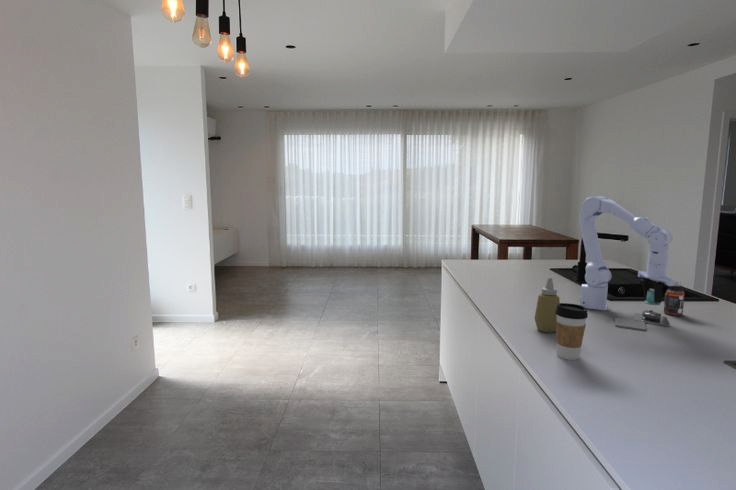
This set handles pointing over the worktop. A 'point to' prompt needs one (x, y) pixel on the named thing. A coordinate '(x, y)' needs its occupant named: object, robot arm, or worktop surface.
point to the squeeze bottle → (547, 308)
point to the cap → (651, 298)
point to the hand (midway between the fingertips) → (652, 300)
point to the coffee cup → (570, 329)
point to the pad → (630, 324)
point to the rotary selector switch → (651, 318)
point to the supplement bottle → (674, 300)
